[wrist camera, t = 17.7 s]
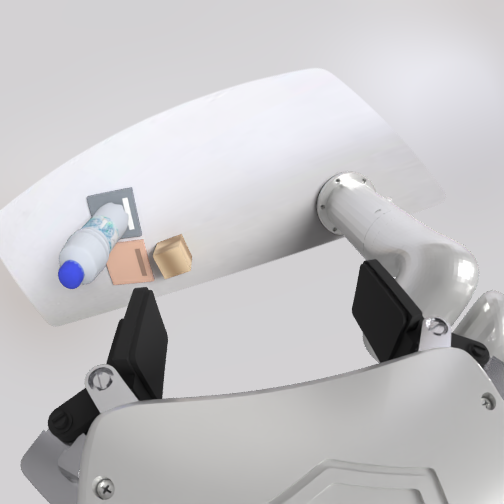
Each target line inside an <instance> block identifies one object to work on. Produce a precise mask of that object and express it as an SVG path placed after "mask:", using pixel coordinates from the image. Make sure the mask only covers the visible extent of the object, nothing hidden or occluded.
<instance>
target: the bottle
mask: <svg viewBox="0 0 504 504" xmlns="http://www.w3.org/2000/svg"><path fill="white" fill-rule="evenodd" d="M128 220H129V216H128V214H127V213H126V212H125V211H124V209H123V206H122V205H119V204H113V203H112V202H111V203H107V204H105V205H103V206H102V207H100V208H99V209H98V210H97V211H96V213H95V214H94V215H93V217H92V218H91V219H90V220H89V221H88V222H87V223H86V224H85V225H84V226H83V227H82V228H81V229H79V230H77V231H76V232H75V233H74V234H73V235H71V236H70V237H69V239H68V240H67V242H66V244H65V246H64V247H63V249H62V251H61V253H60V256H59V263H60V269H59V272H58V276H59V280H60V282H61V283H62V285H64V286H65V287H66V288H69V289H75V288H77V287H78V286H79V285H80V284H88V283H90V282H92V281H93V280H94V279H95V278H96V277H97V275H98V274H99V273H100V272H101V271H102V270H103V269H104V268H105V265H106V263H107V261H108V259H109V254H110V252H111V251H112V249H113V248H114V246H115V244H116V243H117V241H118V240H119V239H120V238H121V237H122V235H123V234H124V233H125V231H126V229H127V227H128Z"/></svg>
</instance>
